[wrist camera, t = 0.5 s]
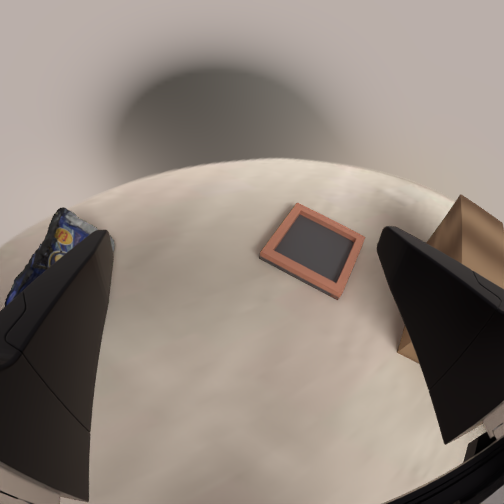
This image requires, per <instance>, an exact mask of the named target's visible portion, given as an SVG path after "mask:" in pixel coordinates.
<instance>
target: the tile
mask: <svg viewBox="0 0 504 504" xmlns="http://www.w3.org/2000/svg"><path fill="white" fill-rule="evenodd" d="M364 239H365V237H364V236H362V235H360V234H358V233H356V232H355V231H353V230H351V229H349V228H347V227H345V226H343V225H341V224H339V223H337V222H335V221H333V220H331V219H329V218H327V217H325V216H323V215H321V214H319V213H317V212H315V211H313V210H311V209H309V208H307V207H305V206H303V205H301V204H299V203H296V205H295V206H294V207H293V209H292V210H291V211H290V213H289V214H288V216H287V217H286V218H285V220H284V221H283V222H282V224H281V225H280V226H279V228H278V229H277V230H276V232H275V233H274V234H273V236H272V237H271V239H270V240H269V241H268V243H267V244H266V245H265V247H264V248H263V249H262V251H261V253H260V257H259V259H261V260H263V261H265V262H267V263H269V264H271V265H273V266H274V267H276V268H278V269H280V270H282V271H284V272H286V273H288V274H289V275H291V276H293V277H295V278H297V279H299V280H301V281H303V282H305V283H306V284H308V285H310V286H312V287H314V288H316V289H318V290H320V291H321V292H323V293H325V294H327V295H329V296H331V297H333V298H335V299H336V300H338V299H339V297H340V296H341V295H342V292H343V290H344V288H345V285H346V283H347V281H348V278H349V276H350V274H351V271H352V269H353V267H354V264H355V262H356V259H357V257H358V254H359V252H360V249H361V247H362V244H363V242H364Z"/></svg>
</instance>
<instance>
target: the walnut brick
mask: <svg viewBox="0 0 504 504" xmlns="http://www.w3.org/2000/svg"><path fill="white" fill-rule="evenodd" d="M427 244H429V245H430V246H432V247H434V248H436V249H437V250H439V251H441V252H443V253H444V254H446V255H448V256H450V257H451V258H453V259H455V260H456V261H458V262H460V263H461V264H463V265H465V266H466V267H468V268H470V269H471V270H472V271H475V272H476V273H478V274H479V275H481V276H483V277H484V278H486V279H488V280H489V281H491V282H493V283H494V284H496V285H498V286H499V287H501V288H503V289H504V228H503V224H502V222H500V221H499V220H498V219H496V218H495V217H493V216H492V215H490V214H489V213H488V212H486V211H485V210H484V209H482V208H481V207H479V206H478V205H476V204H475V203H473V202H472V201H470V200H469V199H467V198H466V197H464V196H463V195H460V196H459V197H458V199H457V200H456V202H455V203H454V205H453V206H452V208H451V209H450V211H449V212H448V214H447V215H446V216H445V218H444V219H443V221H442V222H441V224H440V225H439V226H438V228H437V229H436V231H435V232H434V233H433V235H432V236H431V237H430V239H429V240H428V241H427ZM397 353H399V354H401V355H403V356H405V357H407V358H409V359H411V360H413V361H415V362H417V363H419V361H418V358H417V355H416V352H415V350H414V347H413V344H412V342H411V339H410V336H409V334H408V331H407V329H406V326H405V327H404V330H403V334H402V338H401V341H400V345H399V348H398V351H397ZM419 364H420V363H419Z"/></svg>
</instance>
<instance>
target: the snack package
mask: <svg viewBox="0 0 504 504" xmlns="http://www.w3.org/2000/svg"><path fill="white" fill-rule="evenodd" d="M95 230H98V229H97V227H96V228H95V226H93V225H91V224H89V223H87V222H86V221H84V220H82V219H79V217H77V216H76V215H75V214H74V213H72V212H71V211H69V210H67V209H66V208H60V209H58V210H57V212H56V213H55V214H54V216H53V218H52V220H51V223H50V225H49V228H48V233H47V235H46V237H45V240H44V241H43V243H42V244H40V246H39V249H37V250H36V252H35V254H33V255H32V257H31V259H30V260H29V263H28V264H27V265H26V266H25V269H24V270H23V271H22V272H21V273H20V274H19V275H18V277H16V278H15V280H14V284H13V286H12V288H11V291H10V292H9V294H8V295H7V298H6V302H5V307H6V306H7V305H8V304H9V303H10V302H11V301H12V300H13V299H14V298H15V297H16V296H17V295H19V294H20V293H21V292H23V290H24V289H25V288H26V287H27V286H28V285H30V284H31V283H32V282H33V281H34V280H35V279H36V278H37V277H39V276H40V275H41V274H42V273H43V272H44V271H46V270H47V269H48V268H49V267H50V266H51V265H53V264H54V263H55V262H56V261H57V260H59V259H60V258H61V257H62V256H63V255H65V254H66V253H67V252H68V251H70V250H71V249H72V248H73V247H74V246H76V245H77V244H78V243H80V242H81V241H82V240H83V239H85V238H86V237H87V236H88V235H90V234H91V233H92V232H94V231H95ZM110 240H111V245H112V250H113V251H114V240H113V239H112V237H111V236H110Z"/></svg>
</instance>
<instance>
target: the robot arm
mask: <svg viewBox="0 0 504 504" xmlns="http://www.w3.org/2000/svg"><path fill="white" fill-rule="evenodd" d="M377 253H378V256H379V259H380V262H381V265H382V267H383V270H384V273H385V276H386V279H387V282H388V285H389V288H390V290H391V293H392V295H393V297H394V300H395V302H396V304H397V307H398V309H399V312H400V314H401V316H402V319H403V321H404V324H405V326H406V329H407V331H408V334H409V336H410V339H411V342H412V344H413V347H414V350H415V352H416V355H417V358H418V361H419V363H420V366H421V369H422V372H423V375H424V378H425V381H426V384H427V387H428V390H429V394H430V397H431V400H432V403H433V406H434V410H435V413H436V416H437V420H438V423H439V427H440V431H441V434H442V438H443V441H444V444H445V445H446V444H448V443H450V442H452V441H454V440H455V439H457V438H459V437H461V436H463V435H464V434H466V433H468V432H470V431H471V430H473V429H475V428H476V427H478V426H480V425H481V424H484V426H485V428H486V430H487V432H485V433H484V434H482V435H481V436H479V437H478V438H476V439H475V440H473V441H472V442H470V443H469V444H468V447H467V451H466V454H465V458H464V462H463V463H462V464H460V465H459V466H457V467H455V468H454V469H452V470H450V471H448V472H447V473H445V474H443V475H441V476H440V477H438V478H436V479H434V480H432V481H430V482H428V483H426V484H424V485H422V486H420V487H418V488H416V489H414V490H412V491H410V492H408V493H406V494H403V495H401V496H399V497H397V498H394V499H392V500H389V501H387V502H385V503H382V504H504V289H503V288H501V287H499V286H498V285H496V284H494V283H493V282H491V281H489V280H488V279H486V278H484V277H483V276H481V275H479V274H478V273H476V272H475V271H472V270H471V269H470V268H468V267H466V266H465V265H463V264H461V263H460V262H458V261H456V260H455V259H453V258H451V257H450V256H448V255H446V254H444V253H443V252H441V251H439V250H437V249H436V248H434V247H432V246H430V245H429V244H427V243H425V242H423V241H421V240H420V239H418V238H416V237H414V236H412V235H410V234H409V233H407V232H405V231H403V230H401V229H399V228H397V227H395V226H386V227H384V229H383V231H382V233H381V236H380V239H379V242H378V244H377ZM112 266H113V250H112V245H111V240H110V235H109V232H108V231H107V230H95V231H94V232H92V233H91V234H90V235H88V236H87V237H86V238H85V239H83V240H82V241H81V242H80V243H78V244H77V245H76V246H74V247H73V248H72V249H71V250H70V251H68V252H67V253H66V254H65V255H63V256H62V257H61V258H60V259H59V260H57V261H56V262H55V263H54V264H53V265H51V266H50V267H49V268H48V269H47V270H46V271H44V272H43V273H42V274H41V275H40V276H39V277H37V278H36V279H35V280H34V281H33V282H32V283H31V284H30V285H28V286H27V287H26V288H25V289H24V290H23V292H21V293H20V294H19V295H17V296H16V297H15V298H14V299H13V300H12V301H11V302H10V303H9V304H8V305H7V306H6V307H4V308H3V309H2V310H1V311H0V504H60V497H65V498H69V499H74V500H79V501H85V502H89V452H90V431H91V418H92V407H93V397H94V388H95V380H96V373H97V366H98V359H99V352H100V346H101V340H102V334H103V329H104V324H105V318H106V313H107V308H108V303H109V294H110V284H111V275H112Z"/></svg>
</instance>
